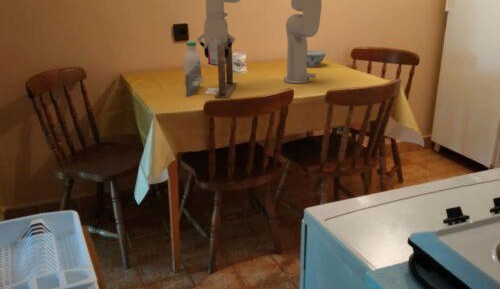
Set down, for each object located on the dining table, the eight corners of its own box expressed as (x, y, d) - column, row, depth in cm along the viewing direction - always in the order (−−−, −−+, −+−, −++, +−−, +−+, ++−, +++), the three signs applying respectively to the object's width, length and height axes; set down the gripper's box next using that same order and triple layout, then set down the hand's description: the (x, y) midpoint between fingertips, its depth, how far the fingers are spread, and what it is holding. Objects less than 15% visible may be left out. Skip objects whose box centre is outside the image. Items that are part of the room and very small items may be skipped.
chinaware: (294, 64, 260) (295, 50, 258) (319, 62, 264) (319, 49, 261) (303, 69, 247) (304, 55, 244) (329, 67, 250) (329, 53, 247)
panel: (205, 86, 213) (204, 65, 209) (195, 98, 194) (194, 75, 191) (196, 86, 213) (195, 65, 209) (186, 98, 195) (185, 75, 191)
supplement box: (226, 63, 198) (225, 37, 194) (216, 66, 194) (215, 39, 190) (217, 62, 202) (216, 36, 197) (207, 64, 198) (206, 37, 193)
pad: (230, 90, 207) (230, 88, 206) (226, 95, 197) (226, 94, 197) (208, 89, 208) (208, 87, 207) (204, 95, 199) (204, 93, 198)
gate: (236, 84, 213) (235, 37, 205) (228, 98, 190) (227, 46, 182) (224, 84, 213) (222, 37, 205) (214, 98, 191) (212, 45, 183)
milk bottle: (194, 85, 215) (192, 43, 208) (182, 83, 219) (179, 42, 211) (204, 82, 221) (202, 41, 214) (192, 80, 225) (189, 40, 218)
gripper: (236, 15, 193) (237, 56, 199) (196, 15, 195) (199, 55, 201) (234, 16, 186) (235, 59, 192) (193, 16, 188) (195, 59, 194)
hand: (216, 57), depth 197 cm, fingers closed on supplement box, 7 cm apart
